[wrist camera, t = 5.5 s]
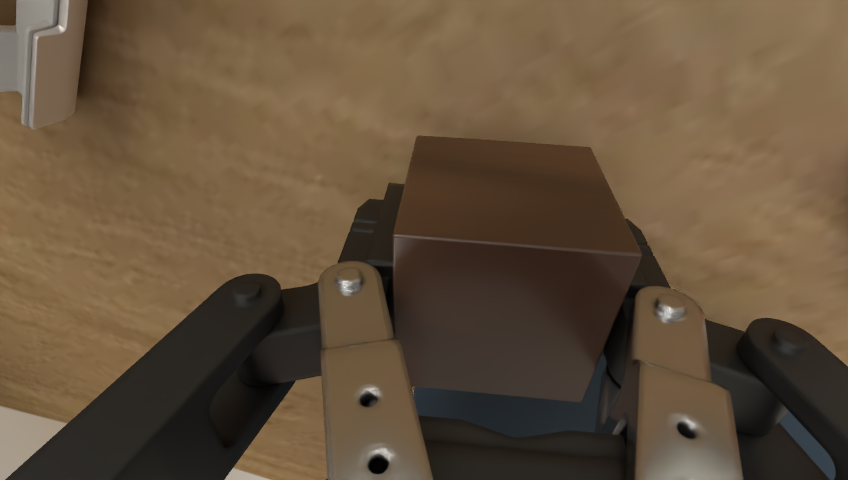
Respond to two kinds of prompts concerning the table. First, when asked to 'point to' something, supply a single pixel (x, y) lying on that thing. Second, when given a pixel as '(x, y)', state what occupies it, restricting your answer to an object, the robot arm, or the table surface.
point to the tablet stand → (44, 58)
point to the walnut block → (507, 267)
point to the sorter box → (560, 415)
